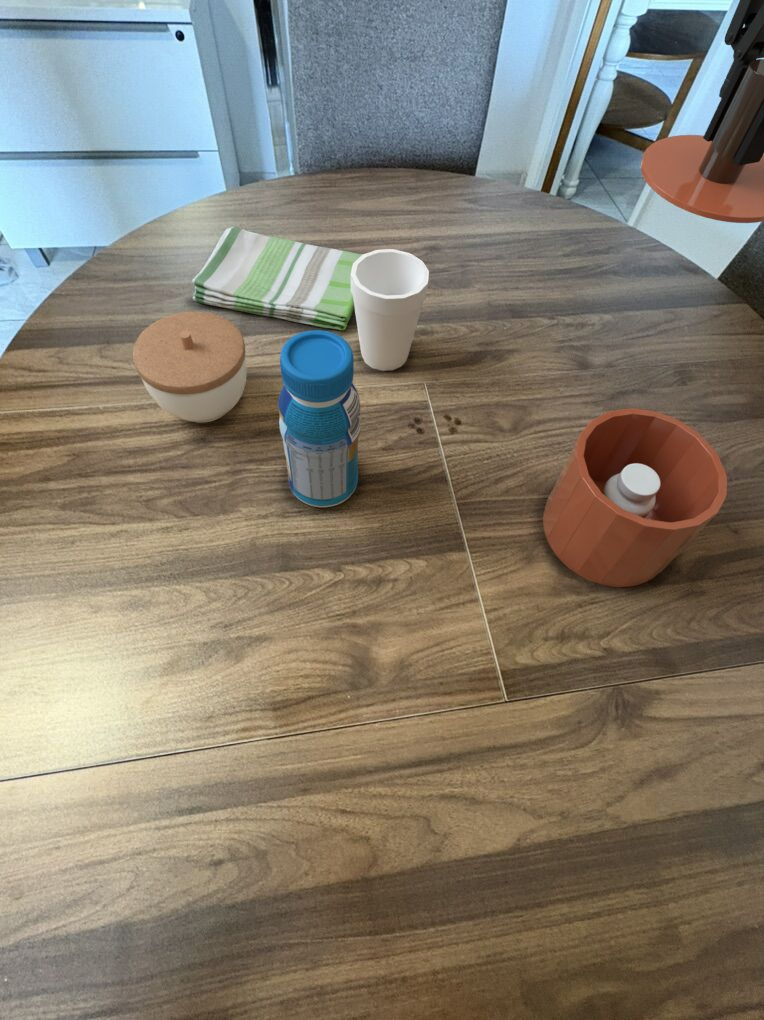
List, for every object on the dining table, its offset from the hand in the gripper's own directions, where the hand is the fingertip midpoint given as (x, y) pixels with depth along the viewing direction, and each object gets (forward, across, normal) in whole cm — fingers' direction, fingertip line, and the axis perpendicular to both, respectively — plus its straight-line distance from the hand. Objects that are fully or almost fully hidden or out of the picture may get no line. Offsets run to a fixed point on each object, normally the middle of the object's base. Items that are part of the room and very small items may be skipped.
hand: (730, 149), depth 62 cm
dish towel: (+29, -31, -39) cm, 58 cm away
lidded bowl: (+29, -12, -56) cm, 64 cm away
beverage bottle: (+29, +5, -46) cm, 55 cm away
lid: (+3, 0, 0) cm, 3 cm away
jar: (+29, +23, -17) cm, 41 cm away
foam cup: (+29, -12, -31) cm, 44 cm away
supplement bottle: (+29, +23, -17) cm, 40 cm away
